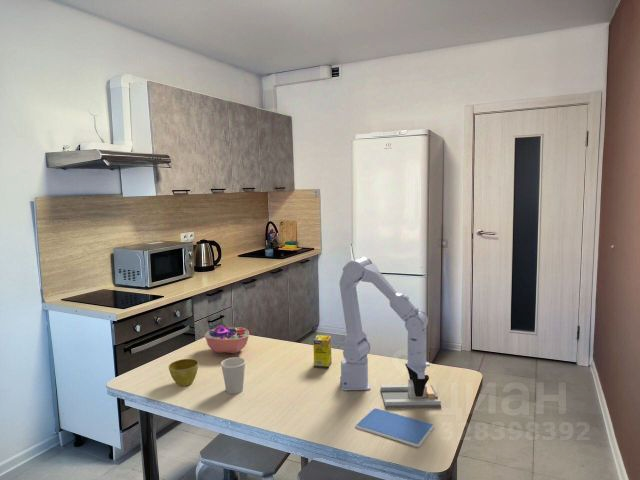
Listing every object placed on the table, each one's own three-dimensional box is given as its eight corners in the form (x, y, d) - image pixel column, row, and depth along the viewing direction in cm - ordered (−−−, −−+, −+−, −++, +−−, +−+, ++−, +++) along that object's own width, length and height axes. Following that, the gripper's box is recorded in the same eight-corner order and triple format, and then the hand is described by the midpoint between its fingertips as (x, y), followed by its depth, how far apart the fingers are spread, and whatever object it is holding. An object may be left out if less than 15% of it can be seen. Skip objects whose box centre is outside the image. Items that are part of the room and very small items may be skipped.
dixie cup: (232, 383, 158) (230, 355, 156) (251, 387, 154) (250, 359, 153) (216, 393, 150) (215, 364, 149) (237, 397, 146) (235, 368, 145)
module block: (410, 400, 140) (410, 386, 140) (408, 392, 145) (408, 379, 145) (426, 399, 140) (426, 386, 140) (423, 392, 145) (423, 379, 145)
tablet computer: (353, 429, 127) (353, 425, 126) (374, 410, 137) (374, 406, 137) (418, 450, 116) (418, 445, 116) (435, 428, 126) (435, 423, 126)
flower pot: (163, 386, 156) (162, 367, 155) (183, 375, 165) (182, 357, 164) (185, 392, 152) (184, 371, 151) (205, 380, 161) (204, 361, 160)
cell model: (231, 363, 175) (230, 335, 174) (196, 354, 186) (195, 327, 185) (259, 349, 189) (258, 323, 188) (225, 341, 200) (224, 317, 199)
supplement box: (329, 368, 168) (328, 340, 166) (313, 367, 169) (312, 340, 168) (332, 362, 174) (331, 335, 172) (316, 361, 175) (316, 334, 173)
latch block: (428, 401, 139) (428, 393, 139) (422, 389, 147) (422, 382, 146) (434, 401, 139) (434, 393, 139) (428, 389, 147) (428, 382, 146)
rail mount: (385, 408, 137) (385, 400, 137) (380, 389, 149) (380, 382, 149) (441, 407, 137) (441, 399, 136) (431, 388, 149) (431, 382, 149)
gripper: (434, 358, 134) (434, 401, 135) (424, 341, 148) (424, 380, 150) (411, 359, 134) (411, 401, 136) (403, 342, 148) (403, 381, 150)
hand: (416, 390), depth 143 cm, fingers open, 6 cm apart
